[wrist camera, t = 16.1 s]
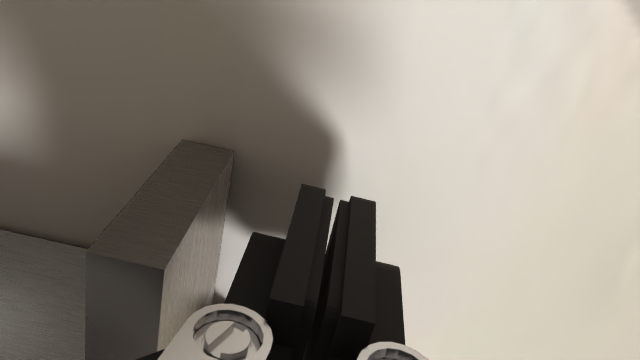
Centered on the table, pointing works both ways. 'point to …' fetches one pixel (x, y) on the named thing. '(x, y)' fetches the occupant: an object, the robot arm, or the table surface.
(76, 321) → the grey l-shaped block
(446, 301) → the table surface
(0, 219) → the table surface
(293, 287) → the robot arm
